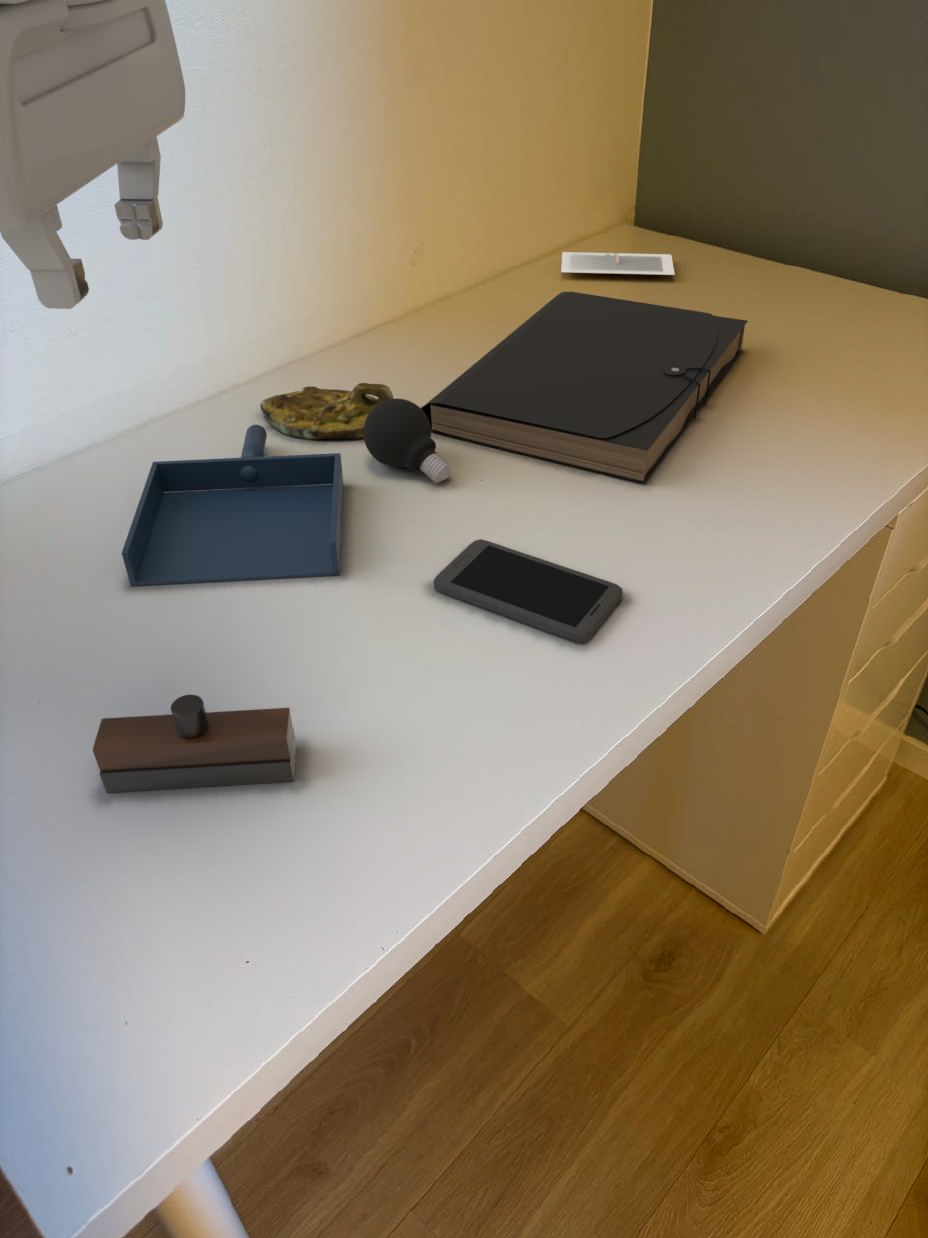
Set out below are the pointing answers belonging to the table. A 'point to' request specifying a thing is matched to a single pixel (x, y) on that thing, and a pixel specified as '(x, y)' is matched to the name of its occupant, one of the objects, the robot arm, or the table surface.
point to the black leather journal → (592, 383)
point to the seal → (324, 411)
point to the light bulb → (403, 438)
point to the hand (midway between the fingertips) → (107, 266)
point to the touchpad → (617, 263)
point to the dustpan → (237, 518)
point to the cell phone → (529, 589)
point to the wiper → (195, 748)
